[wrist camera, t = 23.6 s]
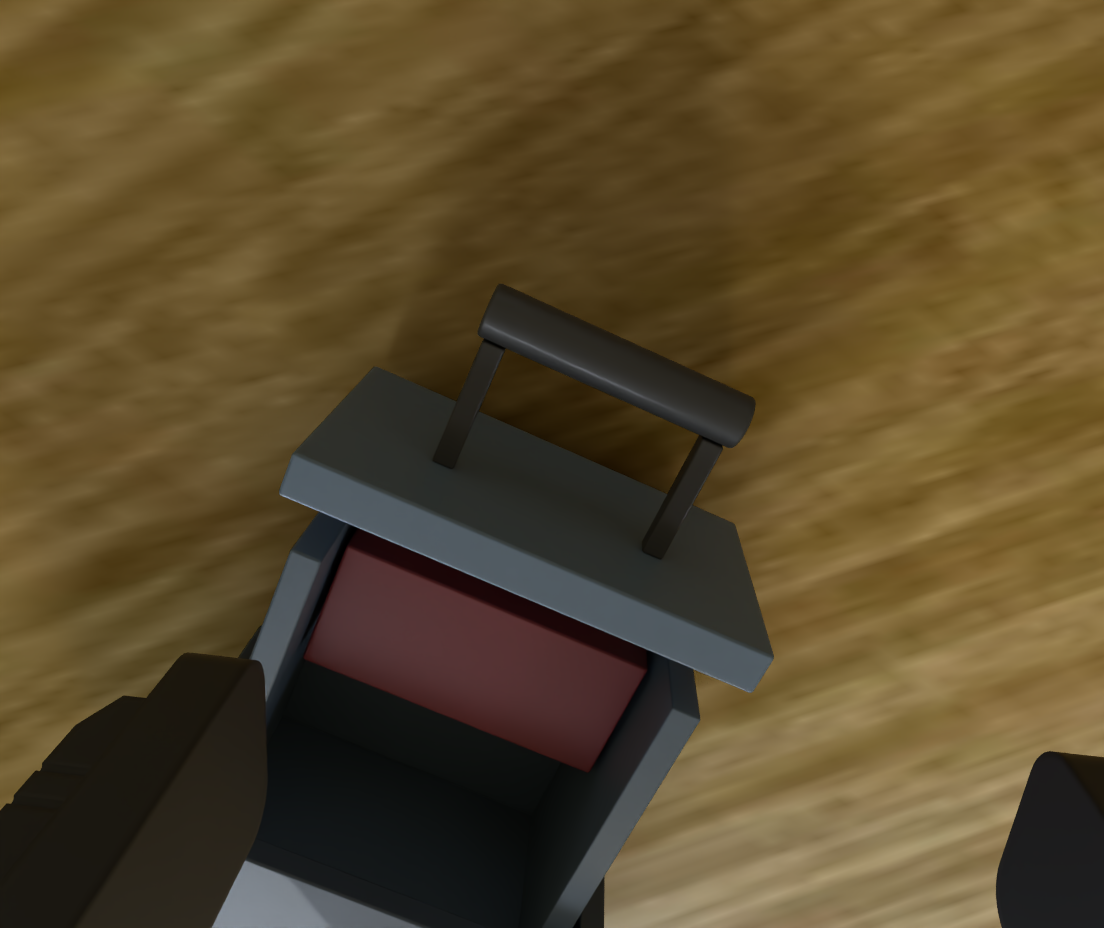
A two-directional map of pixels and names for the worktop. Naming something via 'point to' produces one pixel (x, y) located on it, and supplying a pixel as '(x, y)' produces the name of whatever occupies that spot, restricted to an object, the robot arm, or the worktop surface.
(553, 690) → the red rectangular box
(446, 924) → the cabinet
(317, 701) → the drawer
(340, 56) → the worktop surface
